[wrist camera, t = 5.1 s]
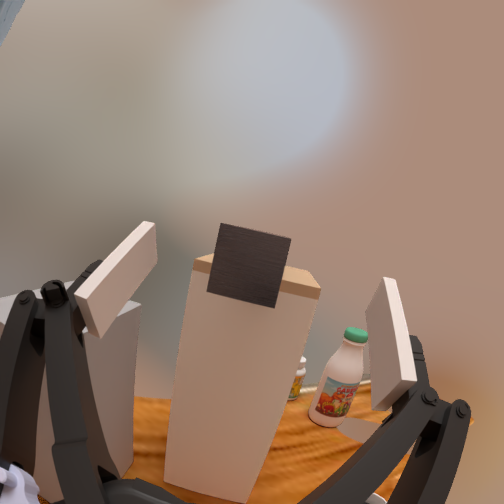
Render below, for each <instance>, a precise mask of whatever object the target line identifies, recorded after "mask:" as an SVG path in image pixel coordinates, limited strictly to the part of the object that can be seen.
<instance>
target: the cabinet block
mask: <svg viewBox="0 0 504 504" xmlns="http://www.w3.org/2000/svg"><path fill="white" fill-rule="evenodd" d="M213 256H214V254H210V255H206V256H203V257H199V258H196V259H194V264H193V270H192V275H191V280H190V286H189V291H188V297H187V302H186V308H185V314H184V319H183V325H182V331H181V337H180V344H179V350H178V357H177V364H176V371H175V378H174V386H173V393H172V401H171V409H170V417H169V426H168V436H167V446H166V457H165V469H164V482H167V483H170V484H172V485H175V486H178V487H181V488H185V489H188V490H191V491H194V492H198V493H201V494H205V495H209V496H213V497H217V498H221V499H225V500H229V501H234V502H239V503H244V504H246V502H247V500H248V498H249V496H250V493H251V491H252V489H253V487H254V484H255V482H256V480H257V477H258V475H259V473H260V470H261V468H262V466H263V463H264V461H265V458H266V456H267V453H268V451H269V448H270V446H271V443H272V441H273V438H274V435H275V433H276V430H277V427H278V425H279V422H280V419H281V417H282V414H283V411H284V408H285V405H286V403H287V400H288V397H289V394H290V391H291V388H292V385H293V382H294V379H295V376H296V373H297V370H298V367H299V364H300V361H301V357H302V354H303V351H304V348H305V344H306V341H307V338H308V334H309V331H310V328H311V324H312V321H313V317H314V313H315V310H316V306H317V302H318V299H319V295H320V291H321V288H320V286H319V285H318V283H317V282H316V281H315V279H314V278H313V277H312V275H311V274H310V273H309V271H306V270H302V269H297V268H293V267H289V266H285V268H284V272H283V277H282V281H281V285H280V289H279V293H278V297H277V301H276V305H275V309H274V308H270V307H265V306H261V305H257V304H253V303H249V302H245V301H241V300H237V299H233V298H229V297H225V296H221V295H217V294H213V293H209V292H206V291H207V286H208V281H209V276H210V271H211V266H212V261H213Z"/></svg>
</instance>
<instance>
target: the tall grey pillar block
mask: <svg viewBox="0 0 504 504" xmlns="http://www.w3.org/2000/svg"><path fill="white" fill-rule="evenodd" d="M73 282H74V281H71V282H67V283H64V286H65V289H66V290H67V289H68V288H69V287H70V286H71V284H72V283H73ZM40 290H41V289H37V290H32V291H33V292H34V293H35V295H36V298H39V299H43V298H42V296H41V293H40ZM17 295H18V294H16V295H12V296H7V297H3V298H0V338H1V335H2V332H3V329H4V326H5V323H6V321H7V318H8V315H9V312H10V310H11V307H12V305H13V302H14V300H15V298H16V296H17ZM141 307H142V304H139V303H136V302H133V301H130V300H128V302H127V303H126V304H125V306H124V307H123V308H122V310H121V311H120V313H119V314H118V315H117V317H116V318H115V320H114V321H113V322H112V324H111V325H110V327H109V328H108V330H107V331H106V332H105V334H104V335H103V337H102V338H101V339H100V338H97V337H95V336H93V335H91V334H89V332H88V330H87V327H85V328H84V330H83V331H82V332H83V334H84V341H85V348H86V355H87V362H88V368H89V373H90V379H91V384H92V389H93V394H94V398H95V403H96V407H97V411H98V415H99V419H100V423H101V427H102V431H103V434H104V438H105V441H106V444H107V448H108V451H109V454H110V456H111V458H112V460H113V462H114V464H115V465H116V468H117V470H118V472H119V475H120V478H122V477H123V476H124V474H125V473H126V471H127V470H128V468H129V467H130V465H131V464H132V463H133V406H134V383H135V366H136V353H137V342H138V333H139V324H140V315H141ZM54 443H55V438H54V432H53V427H52V421H51V414H50V407H49V399H48V390H47V379H46V363H45V368H44V374H43V380H42V387H41V394H40V402H39V411H38V421H37V435H36V458H35V469H34V475H33V479H34V480H35V482H36V485H38V487H39V491H40V492H39V495H40V496H41V497H43V498H44V499H46V500H47V501H48V502H50V503H54V502H57V501H60V500H63V499H64V498H63V494H62V491H61V488H60V484H59V481H58V477H57V474H56V470H55V466H54V461H53V457H52V451H51V449H52V445H53V444H54Z"/></svg>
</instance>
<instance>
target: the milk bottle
mask: <svg viewBox="0 0 504 504" xmlns="http://www.w3.org/2000/svg"><path fill="white" fill-rule="evenodd" d="M343 340H344V341H343V343H342V345H341V346H340V348H339V349H338V351H337V352H336V353H335V354H334V355H333V356H332V357H331V358H330V360H329V361H328V363H327V365H326V367H325V369H324V372H323V374H322V377H321V379H320V382H319V385H318V387H317V390H316V393H315V395H314V398H313V401H312V403H311V406H310V408H309V412H308V413H309V417H310V419H311V420H312V421H313V422H315V423H317V424H319V425H321V426H325V427H336V426H339V425H340V424H341V423H342V422H343V420H344V418H345V416H346V414H347V412H348V410H349V408H350V405H351V403H352V401H353V398H354V396H355V394H356V391H357V389H358V386H359V384H360V381H361V378H362V374H363V348H364V346H365V345H366V342H367V340H368V333H367V332H366V331H364V330H361V329H358V328H353V327H348V328H347V329H346V330H345V334H344V337H343Z"/></svg>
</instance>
